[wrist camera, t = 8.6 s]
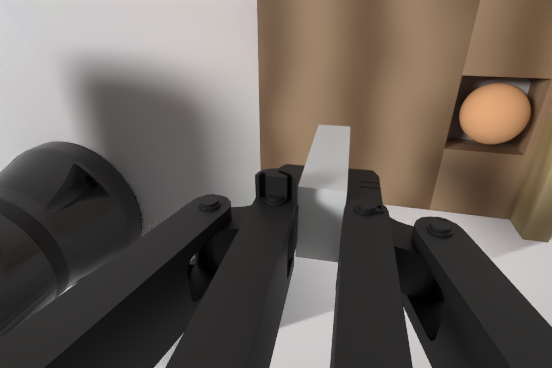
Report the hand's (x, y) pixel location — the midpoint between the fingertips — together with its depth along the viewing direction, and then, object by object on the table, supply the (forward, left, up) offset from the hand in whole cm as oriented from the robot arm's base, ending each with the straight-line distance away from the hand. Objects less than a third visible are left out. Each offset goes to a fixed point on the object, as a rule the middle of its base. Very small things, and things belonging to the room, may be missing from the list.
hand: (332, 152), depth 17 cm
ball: (+10, 0, -9) cm, 14 cm away
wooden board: (+5, 0, -11) cm, 12 cm away
